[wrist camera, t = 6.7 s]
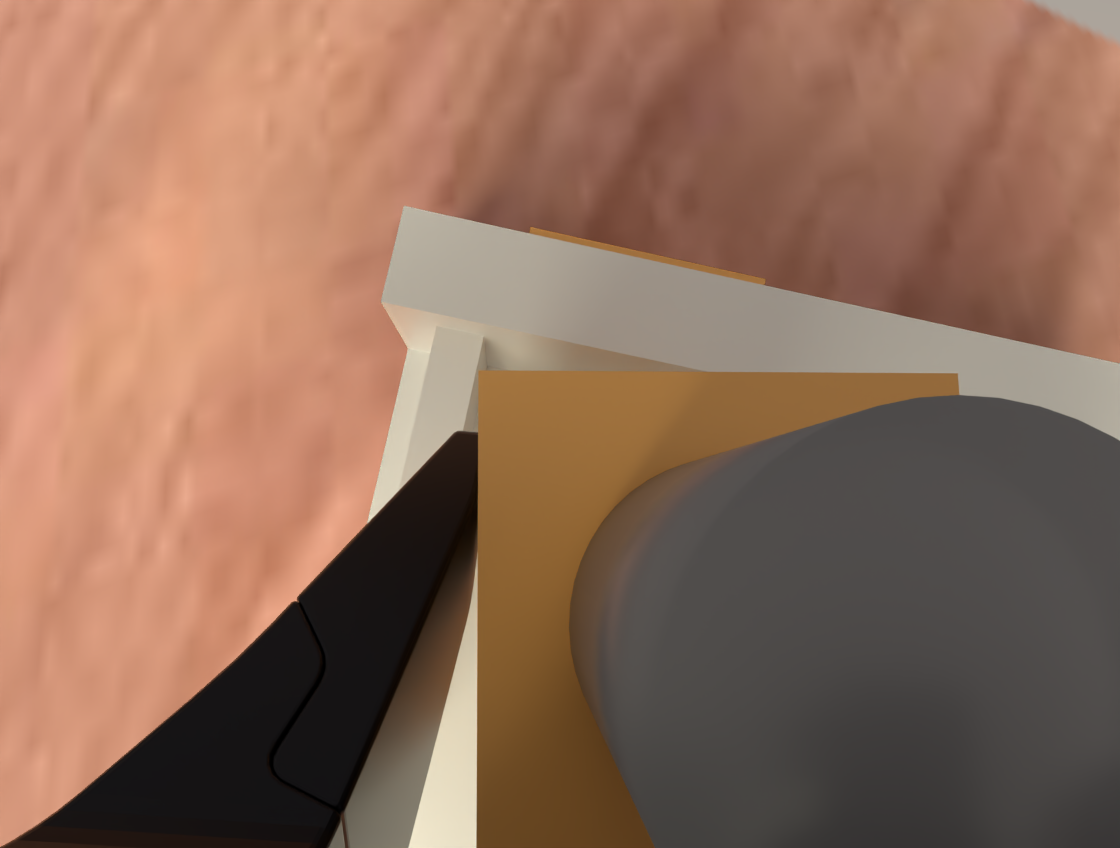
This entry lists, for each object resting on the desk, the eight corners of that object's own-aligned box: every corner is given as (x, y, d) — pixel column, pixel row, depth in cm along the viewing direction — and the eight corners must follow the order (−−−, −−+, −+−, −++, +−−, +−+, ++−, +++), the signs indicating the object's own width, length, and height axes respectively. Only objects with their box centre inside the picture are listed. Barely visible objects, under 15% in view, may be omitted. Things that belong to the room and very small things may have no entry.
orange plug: (681, 651, 16) (1551, 1286, 3) (492, 656, 15) (444, 1408, 2) (675, 462, 16) (1385, 237, 3) (492, 464, 16) (454, 216, 3)
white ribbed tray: (974, 1105, 17) (1139, 1313, 13) (263, 985, 17) (172, 1161, 12) (1052, 378, 20) (1214, 337, 15) (436, 244, 19) (415, 159, 15)
